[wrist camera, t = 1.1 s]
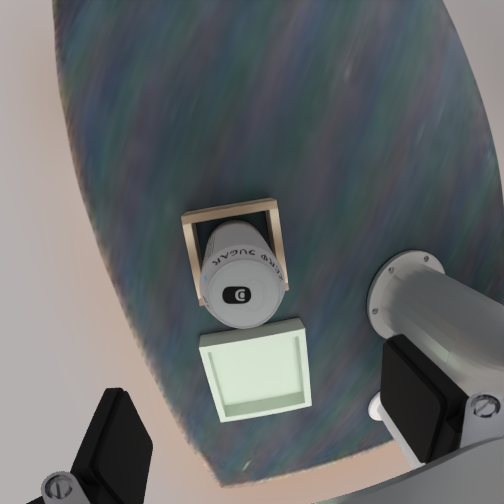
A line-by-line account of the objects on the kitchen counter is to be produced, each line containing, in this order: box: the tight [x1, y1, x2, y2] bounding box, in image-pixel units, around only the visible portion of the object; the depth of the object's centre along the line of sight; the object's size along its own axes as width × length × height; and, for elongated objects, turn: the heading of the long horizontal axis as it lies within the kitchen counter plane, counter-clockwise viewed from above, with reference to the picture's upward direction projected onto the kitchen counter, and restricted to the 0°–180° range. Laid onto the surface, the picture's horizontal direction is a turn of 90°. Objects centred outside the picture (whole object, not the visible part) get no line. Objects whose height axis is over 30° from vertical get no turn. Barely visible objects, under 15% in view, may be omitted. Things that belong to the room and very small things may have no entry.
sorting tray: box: [199, 317, 312, 422], centre depth 37 cm, size 12×12×3 cm
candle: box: [368, 392, 426, 470], centre depth 31 cm, size 7×7×25 cm
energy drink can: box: [199, 220, 285, 329], centre depth 28 cm, size 6×6×15 cm
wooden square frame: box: [181, 198, 289, 306], centre depth 33 cm, size 9×9×4 cm
